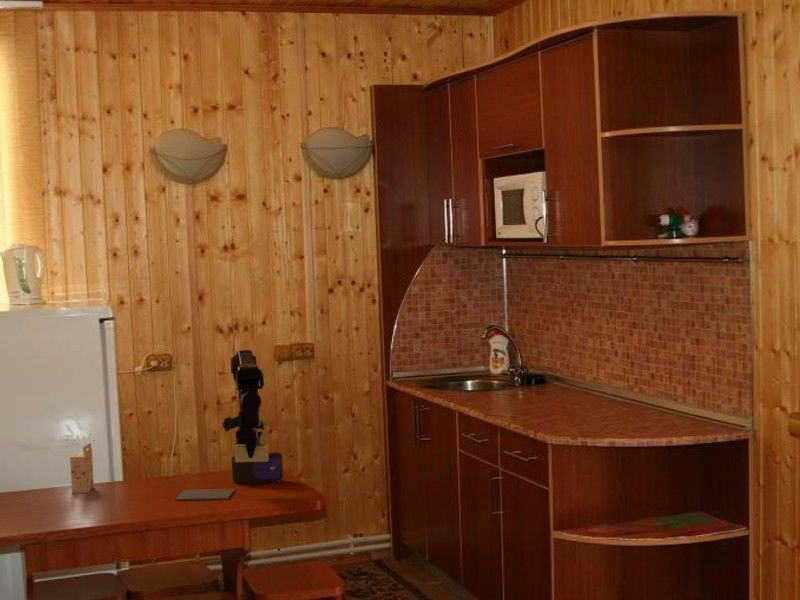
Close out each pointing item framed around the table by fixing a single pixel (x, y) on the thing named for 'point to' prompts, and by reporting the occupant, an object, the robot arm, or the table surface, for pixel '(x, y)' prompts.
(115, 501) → the table surface
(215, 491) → the mat
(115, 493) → the table surface
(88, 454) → the ink cartridge box
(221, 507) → the table surface
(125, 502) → the table surface
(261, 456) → the block
